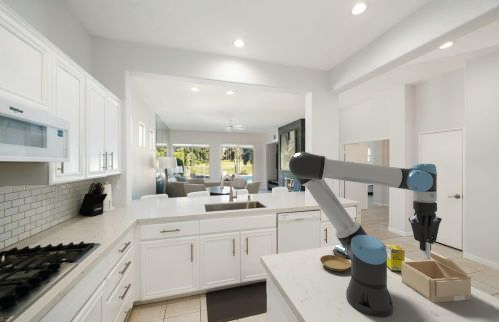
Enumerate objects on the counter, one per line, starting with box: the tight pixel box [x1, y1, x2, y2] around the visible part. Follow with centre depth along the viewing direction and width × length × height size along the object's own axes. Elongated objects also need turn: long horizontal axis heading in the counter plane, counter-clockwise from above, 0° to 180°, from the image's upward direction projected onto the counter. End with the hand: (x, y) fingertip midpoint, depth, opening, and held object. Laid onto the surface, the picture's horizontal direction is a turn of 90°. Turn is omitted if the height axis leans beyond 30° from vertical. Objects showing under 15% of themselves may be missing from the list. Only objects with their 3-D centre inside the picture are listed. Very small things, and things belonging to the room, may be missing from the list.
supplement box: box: [385, 244, 405, 273], centre depth 101 cm, size 6×6×11 cm
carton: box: [401, 259, 472, 304], centre depth 84 cm, size 16×16×9 cm
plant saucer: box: [319, 254, 351, 273], centre depth 105 cm, size 15×15×3 cm
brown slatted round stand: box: [332, 244, 350, 259], centre depth 120 cm, size 12×12×8 cm
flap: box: [430, 250, 468, 276], centre depth 85 cm, size 9×12×1 cm
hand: (425, 258), depth 84 cm, fingers closed
